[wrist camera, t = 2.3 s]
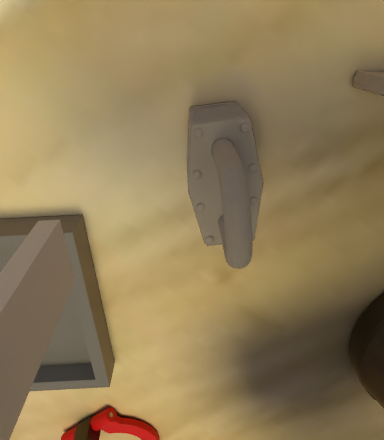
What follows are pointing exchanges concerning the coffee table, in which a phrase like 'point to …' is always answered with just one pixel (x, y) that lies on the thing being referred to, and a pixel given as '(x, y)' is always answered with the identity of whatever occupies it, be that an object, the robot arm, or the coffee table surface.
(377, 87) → the cassette
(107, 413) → the tow hook
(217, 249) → the coffee table surface
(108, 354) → the tray
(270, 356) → the coffee table surface
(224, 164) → the padlock
